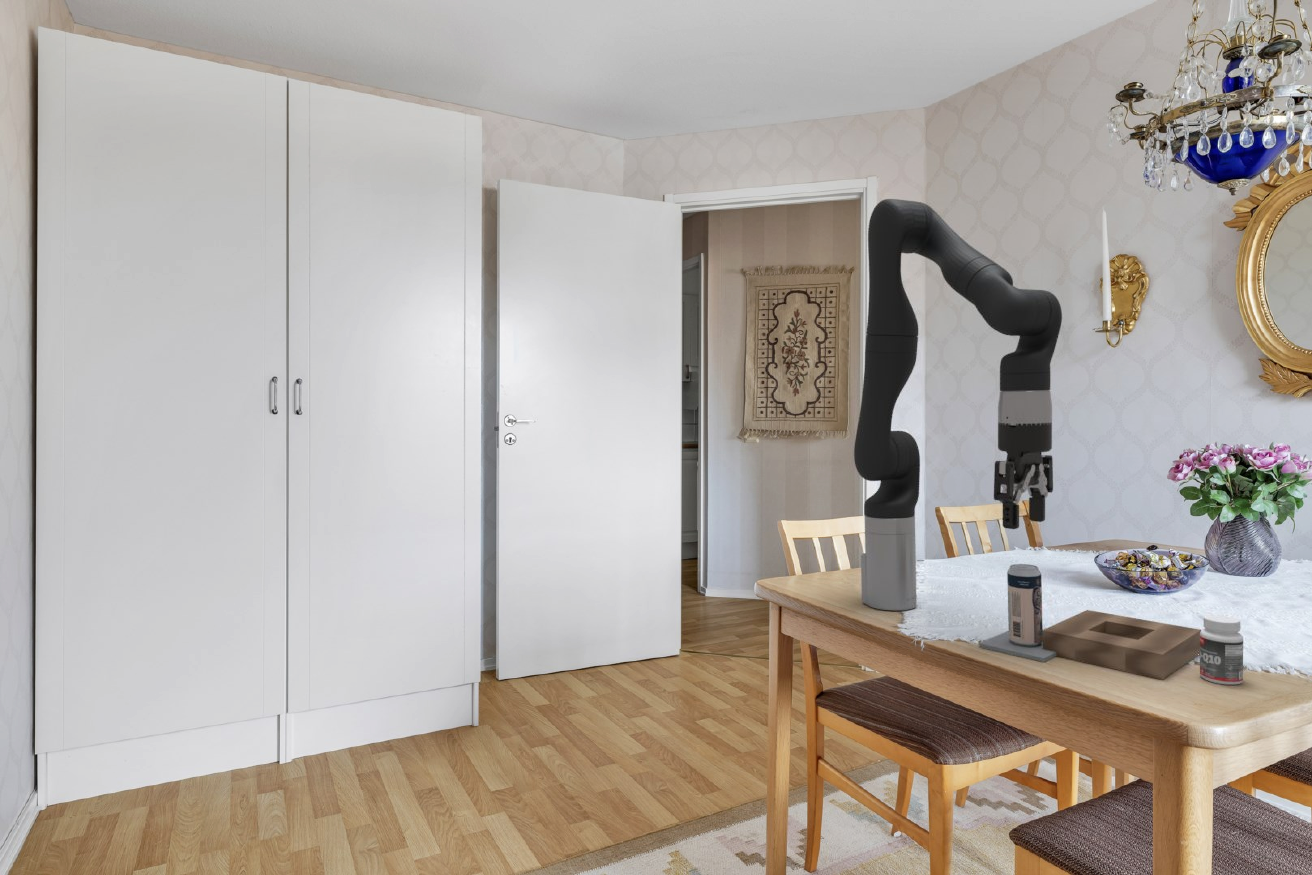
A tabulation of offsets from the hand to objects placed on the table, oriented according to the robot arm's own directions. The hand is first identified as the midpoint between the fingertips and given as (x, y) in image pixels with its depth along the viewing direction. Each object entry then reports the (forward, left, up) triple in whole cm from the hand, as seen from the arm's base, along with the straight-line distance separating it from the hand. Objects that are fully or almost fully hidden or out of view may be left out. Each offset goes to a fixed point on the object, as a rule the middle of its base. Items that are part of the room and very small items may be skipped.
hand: (1024, 524), depth 119 cm
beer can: (0, 0, -19) cm, 19 cm away
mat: (0, 0, -19) cm, 19 cm away
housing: (+11, +7, -19) cm, 23 cm away
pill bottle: (+24, +5, -20) cm, 31 cm away
